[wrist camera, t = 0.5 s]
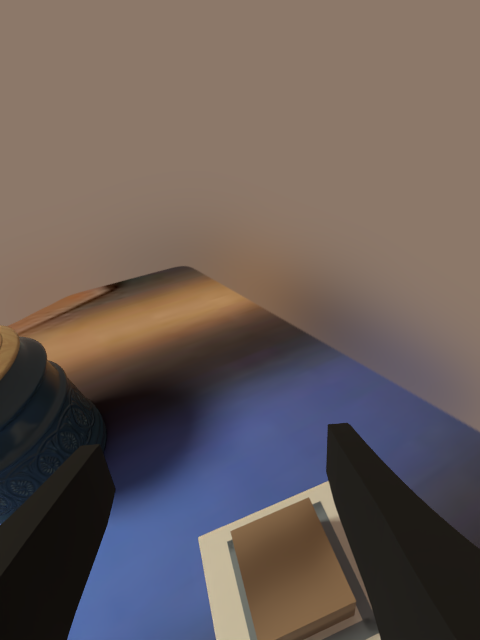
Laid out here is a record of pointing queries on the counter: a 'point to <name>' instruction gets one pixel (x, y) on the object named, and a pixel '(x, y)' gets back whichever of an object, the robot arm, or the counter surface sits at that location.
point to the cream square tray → (228, 589)
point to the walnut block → (291, 574)
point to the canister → (37, 419)
